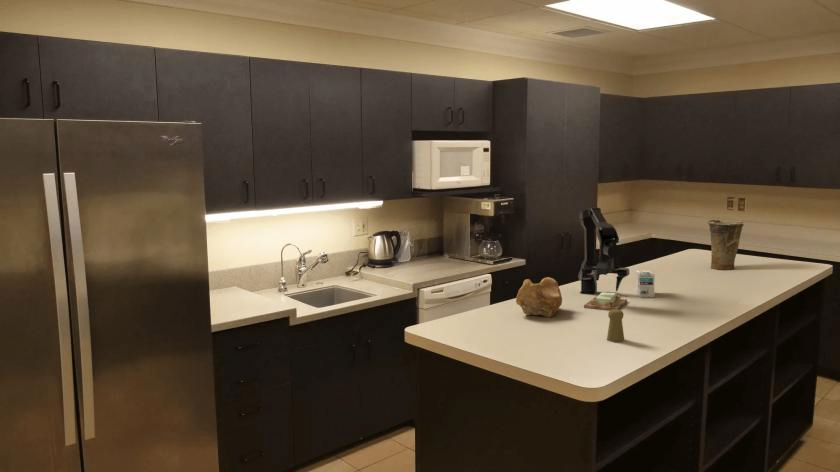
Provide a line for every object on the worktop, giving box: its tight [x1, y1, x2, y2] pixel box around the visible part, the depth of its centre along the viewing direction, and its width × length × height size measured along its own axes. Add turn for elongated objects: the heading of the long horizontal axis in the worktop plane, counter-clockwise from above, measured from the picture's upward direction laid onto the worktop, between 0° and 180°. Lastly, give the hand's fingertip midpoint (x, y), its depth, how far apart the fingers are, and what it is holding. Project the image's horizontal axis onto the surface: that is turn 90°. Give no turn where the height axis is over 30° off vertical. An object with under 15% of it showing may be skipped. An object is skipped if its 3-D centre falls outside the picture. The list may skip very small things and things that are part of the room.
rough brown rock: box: [515, 276, 563, 319], centre depth 263 cm, size 23×17×15 cm
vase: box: [707, 219, 745, 271], centre depth 349 cm, size 18×18×27 cm
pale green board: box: [595, 292, 617, 306], centre depth 276 cm, size 6×12×3 cm, turn 151°
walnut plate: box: [583, 293, 628, 312], centre depth 276 cm, size 14×18×3 cm
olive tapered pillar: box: [606, 309, 625, 343], centre depth 224 cm, size 6×6×11 cm
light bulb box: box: [636, 269, 655, 298], centre depth 293 cm, size 11×7×11 cm, turn 168°
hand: (606, 290), depth 275 cm, fingers open, 9 cm apart
